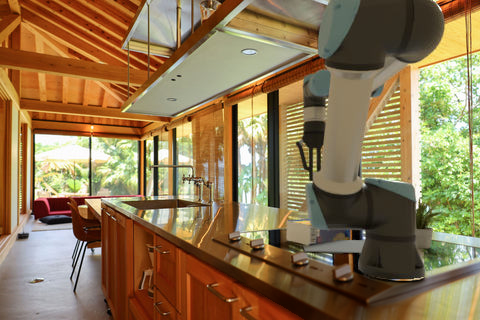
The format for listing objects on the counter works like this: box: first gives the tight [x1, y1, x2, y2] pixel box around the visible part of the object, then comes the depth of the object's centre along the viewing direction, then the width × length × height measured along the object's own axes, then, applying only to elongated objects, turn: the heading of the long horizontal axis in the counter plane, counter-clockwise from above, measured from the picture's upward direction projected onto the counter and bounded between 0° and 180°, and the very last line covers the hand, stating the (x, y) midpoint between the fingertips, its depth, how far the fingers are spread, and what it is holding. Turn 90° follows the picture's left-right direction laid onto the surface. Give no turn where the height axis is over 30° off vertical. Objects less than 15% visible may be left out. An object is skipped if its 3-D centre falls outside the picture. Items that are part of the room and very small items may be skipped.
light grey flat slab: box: [302, 239, 365, 255], centre depth 112 cm, size 18×22×1 cm
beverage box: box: [285, 218, 352, 245], centre depth 123 cm, size 7×11×22 cm
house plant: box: [416, 197, 445, 249], centre depth 112 cm, size 14×14×16 cm
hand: (314, 191), depth 114 cm, fingers closed
